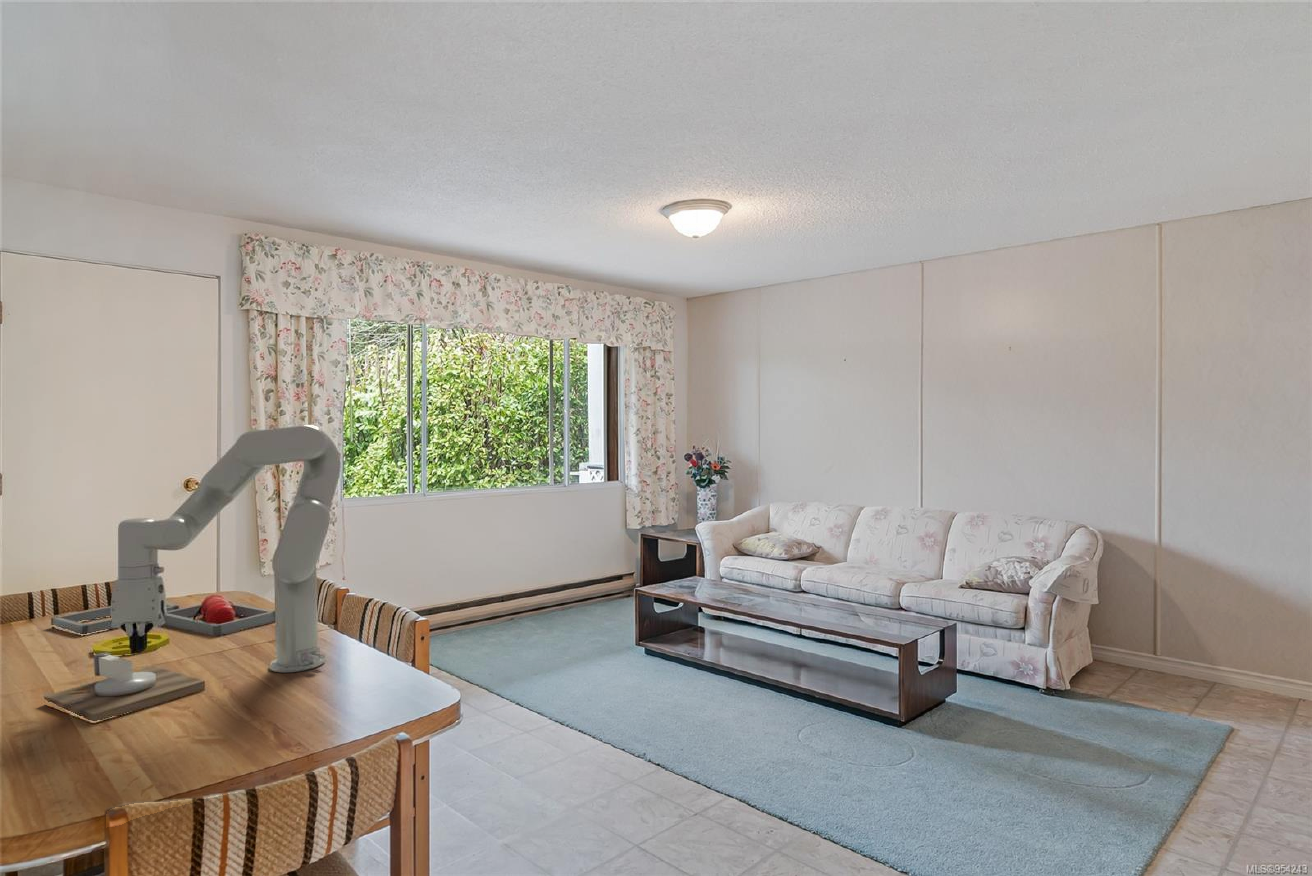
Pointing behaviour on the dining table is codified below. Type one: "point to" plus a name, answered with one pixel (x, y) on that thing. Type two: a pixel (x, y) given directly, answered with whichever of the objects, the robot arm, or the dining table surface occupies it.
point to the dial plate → (125, 696)
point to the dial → (119, 676)
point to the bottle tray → (253, 619)
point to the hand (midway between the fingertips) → (138, 651)
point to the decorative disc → (122, 644)
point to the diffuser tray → (73, 624)
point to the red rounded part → (216, 609)
